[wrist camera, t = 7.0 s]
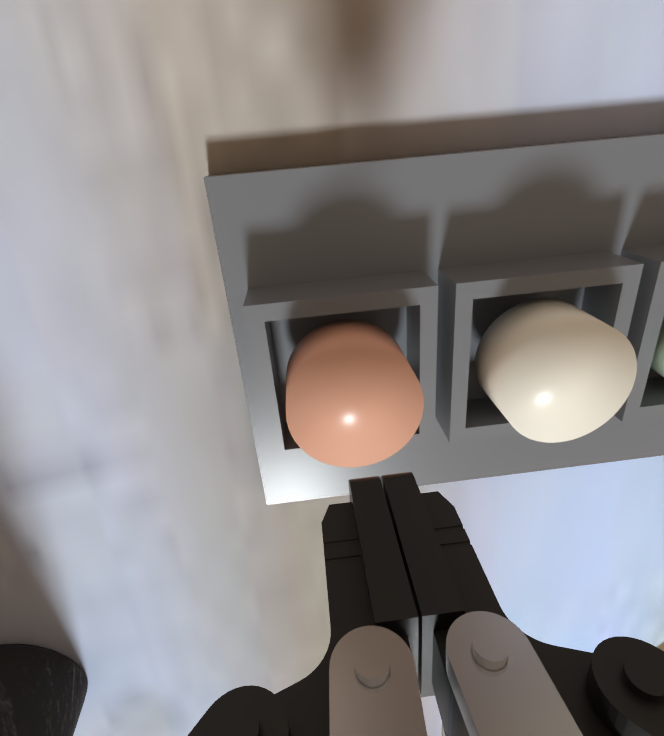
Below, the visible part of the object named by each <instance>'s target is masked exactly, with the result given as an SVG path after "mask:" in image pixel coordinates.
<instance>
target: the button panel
mask: <svg viewBox="0 0 664 736" xmlns="http://www.w3.org/2000/svg"><path fill="white" fill-rule="evenodd" d="M204 181H205V187H206V192H207V197H208V202H209V207H210V213H211V218H212V223H213V228H214V233H215V239H216V244H217V249H218V254H219V259H220V264H221V270H222V275H223V280H224V285H225V290H226V296H227V301H228V306H229V311H230V316H231V322H232V327H233V332H234V337H235V342H236V347H237V353H238V358H239V363H240V368H241V373H242V379H243V384H244V389H245V394H246V399H247V405H248V410H249V415H250V420H251V425H252V430H253V436H254V441H255V446H256V451H257V456H258V462H259V467H260V472H261V477H262V482H263V488H264V493H265V498H266V503H267V505H270V504H278V503H286V502H294V501H302V500H310V499H318V498H326V497H334V496H342V495H349V479H357V478H365V477H373V476H379V477H381V475H389V474H397V473H405V472H412V473H413V475H414V477H415V480H416V483H417V485H418V486H421V485H429V484H437V483H445V482H453V481H461V480H469V479H477V478H485V477H493V476H501V475H509V474H517V473H525V472H533V471H541V470H549V469H557V468H565V467H573V466H581V465H589V464H597V463H605V462H613V461H621V460H629V459H637V458H645V457H653V456H661V455H664V377H663V376H661V375H660V374H658V373H656V372H655V371H653V370H652V369H650V367H651V363H652V359H653V355H654V351H655V348H656V344H657V340H658V336H659V332H660V329H661V325H662V321H663V317H664V133H658V134H648V135H637V136H626V137H616V138H605V139H594V140H583V141H573V142H562V143H551V144H541V145H530V146H519V147H509V148H498V149H487V150H476V151H466V152H455V153H444V154H434V155H423V156H412V157H401V158H391V159H380V160H369V161H359V162H348V163H337V164H327V165H316V166H305V167H294V168H284V169H273V170H262V171H252V172H241V173H230V174H219V175H209V176H206V177H204ZM537 298H556V299H560V300H563V301H566V302H568V303H570V304H572V305H574V306H576V307H577V308H579V309H581V310H583V311H584V312H586V313H588V314H590V315H592V316H593V317H595V318H597V319H599V320H601V321H602V322H604V323H606V324H608V325H610V326H611V327H613V328H615V329H616V330H618V331H620V332H621V333H622V334H623V335H625V336H626V337H627V339H628V340H629V341H630V343H631V344H632V346H633V348H634V351H635V354H636V359H637V373H636V378H635V382H634V385H633V388H632V390H631V392H630V394H629V396H628V398H627V399H626V401H625V402H624V404H623V405H622V406H621V408H620V409H619V410H618V411H617V412H616V413H615V415H614V416H613V417H611V418H610V419H609V420H608V421H607V422H606V423H604V424H603V425H602V426H600V427H599V428H597V429H596V430H594V431H592V432H590V433H588V434H586V435H584V436H582V437H579V438H576V439H573V440H569V441H564V442H556V443H546V442H539V441H535V440H532V439H529V438H527V437H525V436H523V435H522V434H520V433H519V432H517V431H516V430H515V429H514V428H513V427H512V425H511V424H510V423H509V422H508V420H507V419H506V418H505V417H504V415H503V414H502V413H501V412H500V410H499V409H498V408H497V407H496V405H495V404H494V403H493V402H492V400H491V399H490V398H489V397H488V395H487V394H486V393H485V392H484V390H483V389H482V388H481V386H480V384H479V382H478V380H477V377H476V373H475V355H476V351H477V348H478V345H479V343H480V340H481V338H482V337H483V335H484V333H485V332H486V330H487V329H488V327H489V326H490V325H491V324H492V323H493V322H494V321H495V320H496V319H497V318H498V317H499V316H500V315H501V314H503V313H504V312H505V311H507V310H508V309H510V308H512V307H514V306H515V305H517V304H520V303H522V302H525V301H528V300H532V299H537ZM342 319H355V320H362V321H367V322H370V323H372V324H375V325H377V326H379V327H381V328H382V329H384V330H385V331H387V332H388V333H389V334H390V335H391V336H392V337H393V338H394V339H395V341H396V342H397V343H398V345H399V347H400V348H401V350H402V352H403V354H404V355H405V357H406V359H407V361H408V363H409V364H410V366H411V368H412V370H413V372H414V373H415V375H416V377H417V379H418V381H419V383H420V385H421V388H422V392H423V397H424V409H423V415H422V419H421V422H420V424H419V427H418V428H417V430H416V432H415V434H414V435H413V437H412V438H411V439H410V441H409V442H408V443H407V444H406V445H405V446H404V447H403V448H401V449H400V450H399V451H398V452H396V453H395V454H393V455H392V456H390V457H388V458H386V459H385V460H382V461H380V462H377V463H374V464H371V465H367V466H362V467H338V466H333V465H329V464H325V463H323V462H320V461H318V460H316V459H314V458H312V457H311V456H309V455H308V454H307V453H305V452H304V451H303V450H302V449H301V448H300V447H299V446H298V444H297V443H296V442H295V441H294V439H293V437H292V435H291V433H290V431H289V428H288V425H287V420H286V370H287V365H288V361H289V358H290V356H291V353H292V352H293V350H294V348H295V347H296V345H297V344H298V343H299V341H300V340H301V339H302V338H303V337H304V336H305V335H307V334H308V333H309V332H310V331H312V330H314V329H315V328H317V327H319V326H321V325H323V324H325V323H329V322H332V321H336V320H342Z"/></svg>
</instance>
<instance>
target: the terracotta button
mask: <svg viewBox="0 0 664 736" xmlns="http://www.w3.org/2000/svg"><path fill="white" fill-rule="evenodd" d="M423 409H424V397H423V392H422V388H421V385H420V383H419V381H418V379H417V377H416V375H415V373H414V372H413V370H412V368H411V366H410V364H409V363H408V361H407V359H406V357H405V355H404V354H403V352H402V350H401V348H400V347H399V345H398V343H397V342H396V341H395V339H394V338H393V337H392V336H391V335H390V334H389V333H388V332H387V331H385V330H384V329H382V328H381V327H379V326H377V325H375V324H372V323H370V322H367V321H362V320H355V319H342V320H336V321H332V322H329V323H325V324H323V325H321V326H319V327H317V328H315V329H314V330H312V331H310V332H309V333H308V334H307V335H305V336H304V337H303V338H302V339H301V340H300V341H299V343H298V344H297V345H296V347H295V348H294V350H293V352H292V353H291V356H290V358H289V361H288V365H287V370H286V420H287V425H288V428H289V431H290V433H291V435H292V437H293V439H294V441H295V442H296V443H297V444H298V446H299V447H300V448H301V449H302V450H303V451H304V452H305V453H307V454H308V455H309V456H311V457H312V458H314V459H316V460H318V461H320V462H323V463H325V464H329V465H333V466H338V467H362V466H367V465H371V464H374V463H377V462H380V461H382V460H385V459H386V458H388V457H390V456H392V455H393V454H395V453H396V452H398V451H399V450H400V449H401V448H403V447H404V446H405V445H406V444H407V443H408V442H409V441H410V439H411V438H412V437H413V435H414V434H415V432H416V430H417V428H418V427H419V424H420V422H421V419H422V415H423Z"/></svg>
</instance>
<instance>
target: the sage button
mask: <svg viewBox="0 0 664 736" xmlns="http://www.w3.org/2000/svg"><path fill="white" fill-rule="evenodd" d="M650 369H652V370H653V371H655V372H656V373H658V374H660V375H661V376H663V377H664V317H663V321H662V325H661V329H660V332H659V336H658V340H657V344H656V348H655V351H654V355H653V359H652V363H651V367H650Z"/></svg>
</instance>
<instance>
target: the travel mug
mask: <svg viewBox="0 0 664 736" xmlns="http://www.w3.org/2000/svg"><path fill="white" fill-rule="evenodd" d="M86 692H87V679H86V676H85V674H84V672H83V671H82V669H81V668H80V667H79V666H78V665H77V664H76V663H74V662H73V661H72V660H70V659H69V658H67V657H65V656H63V655H61V654H59V653H57V652H54V651H51V650H48V649H45V648H41V647H36V646H29V645H0V736H73V734H74V731H75V728H76V725H77V722H78V719H79V715H80V712H81V709H82V706H83V703H84V700H85V696H86Z"/></svg>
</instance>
